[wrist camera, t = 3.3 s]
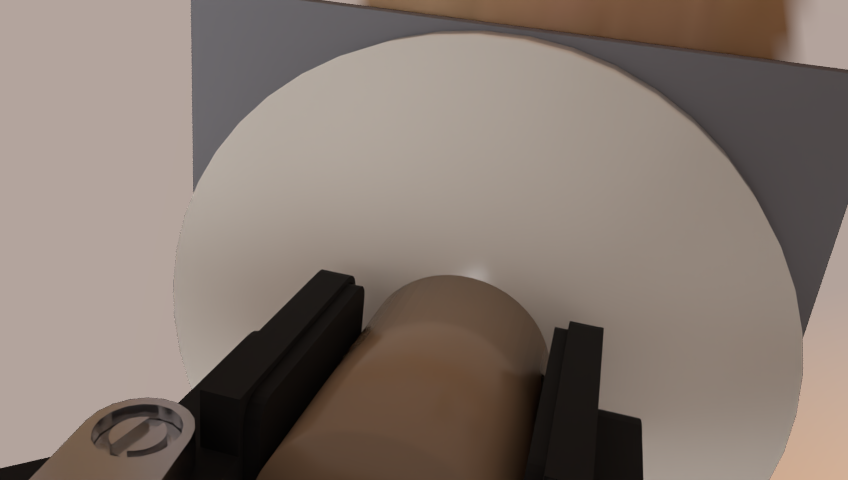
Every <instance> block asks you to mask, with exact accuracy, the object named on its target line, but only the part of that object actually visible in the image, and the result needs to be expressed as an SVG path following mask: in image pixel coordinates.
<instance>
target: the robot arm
mask: <svg viewBox="0 0 848 480" xmlns="http://www.w3.org/2000/svg"><path fill="white" fill-rule="evenodd" d="M364 296H365V291H364V287H363V286H359V285H356V283H355V278H354V276H352V275H347V274H342V273H337V272H332V271H328V270H323V269H321V270H320V271H319V272H318V273H317V274H316V275H315V276H314V277H313V278H312V279H311V280H309V281H308V282H307V283H306V284H305V285H304V286H303V287H302V288H301V289H300V290H299V291H298V292H297V293H296V294H295V295H294V296H293V297H292V298H291V299H290V300H289V301H288V302H287V303H286V304H285V305H284V306H283V307H282V308H281V309H280V310H279V311H278V312H277V313H276V314H275V315H274V316H273V317H272V318H271V319H270V320H269V321H268V322H267V323H266V324H265V325H264V326H263V327H262V328H261V329H260V330H259V331H253V332H251V333H250V334H248V335H247V336H246V337H245V338H244V339H243V340H242V341H241V342H240V343H239V344H238V345H237V346H236V347H235V348H234V349H233V350H232V351H231V352H230V353H229V354H228V355H227V356H226V357H225V358H224V359H223V360H222V361H221V362H220V363H219V364H218V365H217V366H216V367H215V368H214V369H213V370H212V371H211V372H210V373H208V374H207V375H206V376H205V377H204V378H203V379H202V380H201V381H200V382H199V383H198V384H197V385H196V386H195V387H194V388H193V389H192V390H191V391H190V392H189V393H188V394H187V395H186V396H185V397H184V398H183V399H182V400H181V401H180V402H179V403H176V402H173V401H169V400H166V399H158V398H138V399H129V400H125V401H122V402H118V403H114V404H112V405H110V406H107V407H105V408H103V409H101V410H99V411H97V412H96V413H95V414H93V415H92V416H91V417H90V418H88V419H87V420H86V421H85V422H84V423H83V424H82V425H81V426H80V427H79V428H78V429H77V430H76V431H75V432H74V433H73V434H72V435H71V436H70V437H69V439H68V440H67V441H66V442H65V443H64V444H63V445H62V446H61V447H60V448H59V449H58V450H57V451H56V452H55V453H54V454H53V455H52V456H51V457H48V458H44V459H40V460H35V461H31V462H27V463H22V464H18V465H13V466H9V467H5V468H0V480H256V479H257V477H258V475H259V473H260V471H261V470H262V468H263V467H264V466H265V464H266V463H267V462H268V460H269V459H270V457H271V456H272V455H273V453H274V452H275V450H276V449H277V448H278V446H279V445H280V444H281V442H282V441H283V439H284V438H285V437H286V435H287V434H288V433H289V431H290V430H291V428H292V427H293V426H294V424H295V423H296V422H297V420H298V419H299V417H300V416H301V415H302V413H303V412H304V411H305V409H306V408H307V406H308V405H309V404H310V402H311V401H312V400H313V398H314V397H315V395H316V394H317V393H318V391H319V390H320V389H321V387H322V386H323V384H324V383H325V382H326V380H327V379H328V378H329V376H330V375H331V373H332V372H333V371H334V369H335V368H336V367H337V365H338V364H339V362H340V361H341V360H342V358H343V357H344V356H345V354H346V353H347V351H348V350H349V349H350V347H351V346H352V345H353V343H354V342H355V340H356V339H357V338H358V336H359V335H360V334H361V332H362V321H363V309H364ZM603 334H604V328H602V327H597V326H592V325H587V324H582V323H578V322H573V321H570V322H569V327H568V329H563V328H558V327H555V329H554V334H553V338H552V343H551V348H550V353H549V358H548V363H547V368H546V373H545V378H544V382H543V387H542V392H541V397H540V402H539V407H538V412H537V417H536V421H535V426H534V431H533V436H532V441H531V446H530V451H529V456H528V461H527V466H526V471H525V476H524V480H643V448H642V422H641V419H640V418H636V417H632V416H628V415H623V414H619V413H615V412H610V411H606V410H602V409H598V406H599V391H600V377H601V362H602V348H603Z"/></svg>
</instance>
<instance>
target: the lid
mask: <svg viewBox="0 0 848 480" xmlns="http://www.w3.org/2000/svg"><path fill="white" fill-rule="evenodd" d="M321 269H323V270H328V271H332V272H337V273H342V274H347V275H352V276H354V278H355V283H356V285H359V286H363V287H364V291H365V296H364V309H363V321H362V332H361V334H360V335H359V336H358V338H357V339H356V340H355V342H354V343H353V345H352V346H351V347H350V349H349V350H348V351H347V353H346V354H345V356H344V357H343V358H342V360H341V361H340V362H339V364H338V365H337V367H336V368H335V369H334V371H333V372H332V373H331V375H330V376H329V378H328V379H327V380H326V382H325V383H324V384H323V386H322V387H321V389H320V390H319V391H318V393H317V394H316V395H315V397H314V398H313V400H312V401H311V402H310V404H309V405H308V406H307V408H306V409H305V411H304V412H303V413H302V415H301V416H300V417H299V419H298V420H297V422H296V423H295V424H294V426H293V427H292V428H291V430H290V431H289V433H288V434H287V435H286V437H285V438H284V439H283V441H282V442H281V444H280V445H279V446H278V448H277V449H276V450H275V452H274V453H273V455H272V456H271V457H270V459H269V460H268V462H267V463H266V464H265V466H264V467H263V468H262V470H261V471H260V473H259V475H258V477H257V479H256V480H524V476H525V471H526V466H527V461H528V456H529V451H530V446H531V441H532V436H533V431H534V426H535V421H536V417H537V412H538V407H539V402H540V397H541V392H542V387H543V382H544V378H545V373H546V368H547V363H548V358H549V353H550V348H551V343H552V338H553V334H554V329H555V327H558V328H563V329H568V327H569V322H570V321H573V322H578V323H582V324H587V325H592V326H597V327H602V328H604V334H603V348H602V362H601V377H600V391H599V406H598V409H602V410H606V411H610V412H615V413H619V414H623V415H628V416H632V417H636V418H640V419H641V422H642V448H643V480H769V479H770V478H771V476H772V474H773V472H774V470H775V468H776V466H777V464H778V462H779V460H780V458H781V457H782V455H783V453H784V450H785V447H786V444H787V441H788V438H789V435H790V432H791V429H792V426H793V423H794V420H795V417H796V413H797V407H798V401H799V394H800V388H801V382H802V376H803V342H802V341H803V340H802V339H803V333H802V327H801V321H800V315H799V309H798V303H797V296H796V290H795V287H794V284H793V281H792V278H791V275H790V272H789V269H788V266H787V263H786V260H785V257H784V254H783V251H782V248H781V246H780V244H779V242H778V240H777V238H776V236H775V234H774V232H773V230H772V228H771V226H770V224H769V222H768V220H767V218H766V216H765V215H764V213H763V211H762V209H761V207H760V205H759V203H758V201H757V199H756V197H755V196H754V194H753V192H752V190H751V188H750V186H749V185H748V184H747V182H746V181H745V179H744V178H743V177H742V175H741V174H740V172H739V171H738V170H737V168H736V167H735V165H734V164H733V163H732V161H731V160H730V158H729V157H728V156H727V154H726V153H725V151H724V150H723V149H722V148H721V147H720V146H719V145H718V144H717V143H716V142H715V141H714V140H713V139H712V138H711V136H710V135H709V134H708V133H707V132H706V131H705V130H704V129H703V128H702V127H701V126H700V125H699V124H698V123H697V122H696V121H695V120H694V119H693V118H692V117H691V116H690V115H689V114H687V113H686V112H685V111H684V110H682V109H681V108H680V107H678V106H677V105H676V104H675V103H673V102H672V101H671V100H670V99H668V98H667V97H666V96H665V95H663V94H662V93H661V92H659V91H658V90H657V89H655V88H654V87H652V86H650V85H649V84H647V83H645V82H644V81H642V80H640V79H638V78H637V77H635V76H633V75H632V74H630V73H628V72H626V71H625V70H623V69H621V68H620V67H618V66H616V65H614V64H612V63H609V62H607V61H604V60H602V59H600V58H597V57H595V56H592V55H590V54H587V53H585V52H583V51H580V50H578V49H575V48H573V47H569V46H565V45H562V44H558V43H554V42H550V41H546V40H543V39H539V38H535V37H531V36H526V35H517V34H509V33H501V32H493V31H485V30H483V31H439V32H432V33H426V34H419V35H413V36H406V37H400V38H396V39H393V40H390V41H387V42H383V43H380V44H377V45H373V46H370V47H367V48H364V49H360V50H357V51H354V52H351V53H348V54H345V55H341V56H339V57H336V58H334V59H332V60H330V61H328V62H326V63H324V64H322V65H319V66H317V67H315V68H313V69H311V70H309V71H307V72H305V73H303V74H301V75H299V76H298V77H296V78H295V79H293V80H292V81H290V82H289V83H287V84H286V85H284V86H283V87H281V88H280V89H278V90H277V91H275V92H274V93H272V94H271V95H269V96H268V97H267V98H266V99H265V100H264V101H262V102H261V103H260V104H259V105H258V106H257V107H256V108H255V109H254V110H253V111H251V112H250V113H249V114H248V115H247V116H246V117H245V118H244V119H243V120H242V121H241V122H239V124H238V125H237V126H236V127H235V129H234V130H233V131H232V132H231V134H230V135H229V136H228V137H227V139H226V140H225V141H224V142H223V144H222V145H221V146H220V147H219V148H218V150H217V151H216V152H215V154H214V156H213V158H212V159H211V161H210V163H209V164H208V166H207V168H206V170H205V171H204V173H203V175H202V176H201V178H200V180H199V182H198V184H197V186H196V189H195V191H194V194H193V196H192V199H191V201H190V204H189V206H188V209H187V211H186V214H185V217H184V221H183V225H182V229H181V233H180V237H179V241H178V245H177V251H176V260H175V270H174V280H173V292H174V318H175V324H176V330H177V336H178V343H179V348H180V353H181V356H182V360H183V363H184V367H185V370H186V374H187V377H188V380H189V384H190V386H191V389H193V388H194V387H195V386H196V385H197V384H198V383H199V382H200V381H201V380H202V379H203V378H204V377H205V376H206V375H207V374H208V373H210V372H211V371H212V370H213V369H214V368H215V367H216V366H217V365H218V364H219V363H220V362H221V361H222V360H223V359H224V358H225V357H226V356H227V355H228V354H229V353H230V352H231V351H232V350H233V349H234V348H235V347H236V346H237V345H238V344H239V343H240V342H241V341H242V340H243V339H244V338H245V337H246V336H247V335H248V334H250V333H251V332H253V331H259V330H260V329H261V328H262V327H263V326H264V325H265V324H266V323H267V322H268V321H269V320H270V319H271V318H272V317H273V316H274V315H275V314H276V313H277V312H278V311H279V310H280V309H281V308H282V307H283V306H284V305H285V304H286V303H287V302H288V301H289V300H290V299H291V298H292V297H293V296H294V295H295V294H296V293H297V292H298V291H299V290H300V289H301V288H302V287H303V286H304V285H305V284H306V283H307V282H308V281H309V280H311V279H312V278H313V277H314V276H315V275H316V274H317V273H318V272H319V271H320V270H321Z"/></svg>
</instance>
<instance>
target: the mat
mask: <svg viewBox="0 0 848 480" xmlns="http://www.w3.org/2000/svg"><path fill="white" fill-rule="evenodd" d="M483 30H485V31H493V32H501V33H509V34H517V35H526V36H531V37H535V38H539V39H543V40H546V41H550V42H554V43H558V44H562V45H565V46H569V47H573V48H575V49H578V50H580V51H583V52H585V53H587V54H590V55H592V56H595V57H597V58H600V59H602V60H604V61H607V62H609V63H612V64H614V65H616V66H618V67H620V68H621V69H623V70H625V71H626V72H628V73H630V74H632V75H633V76H635V77H637V78H638V79H640V80H642V81H644V82H645V83H647V84H649V85H650V86H652V87H654V88H655V89H657V90H658V91H659V92H661V93H662V94H663V95H665V96H666V97H667V98H668V99H670V100H671V101H672V102H673V103H675V104H676V105H677V106H678V107H680V108H681V109H682V110H684V111H685V112H686V113H687V114H689V115H690V116H691V117H692V118H693V119H694V120H695V121H696V122H697V123H698V124H699V125H700V126H701V127H702V128H703V129H704V130H705V131H706V132H707V133H708V134H709V135H710V136H711V138H712V139H713V140H714V141H715V142H716V143H717V144H718V145H719V146H720V147H721V148H722V149H723V150H724V151H725V153H726V154H727V156H728V157H729V158H730V160H731V161H732V163H733V164H734V165H735V167H736V168H737V170H738V171H739V172H740V174H741V175H742V177H743V178H744V179H745V181H746V182H747V184H748V185H749V186H750V188H751V190H752V192H753V194H754V196H755V197H756V199H757V201H758V203H759V205H760V207H761V209H762V211H763V213H764V215H765V216H766V218H767V220H768V222H769V224H770V226H771V228H772V230H773V232H774V234H775V236H776V238H777V240H778V242H779V244H780V246H781V248H782V251H783V254H784V257H785V260H786V263H787V266H788V269H789V272H790V275H791V278H792V281H793V284H794V287H795V290H796V296H797V303H798V309H799V315H800V321H801V327H802V333H803V336H804V333H805V330H806V327H807V324H808V321H809V318H810V315H811V312H812V309H813V306H814V303H815V300H816V297H817V294H818V291H819V288H820V285H821V282H822V279H823V276H824V273H825V270H826V267H827V264H828V261H829V258H830V255H831V253H832V250H833V247H834V244H835V240H836V238H837V235H838V232H839V229H840V226H841V223H842V220H843V217H844V214H845V211H846V208H847V205H848V70H845V69H837V68H830V67H822V66H815V65H807V64H800V63H792V62H785V61H777V60H769V59H762V58H754V57H747V56H739V55H732V54H724V53H716V52H709V51H701V50H694V49H686V48H679V47H671V46H664V45H656V44H648V43H641V42H633V41H626V40H618V39H611V38H603V37H595V36H588V35H580V34H573V33H565V32H558V31H550V30H543V29H535V28H527V27H520V26H512V25H505V24H497V23H490V22H482V21H475V20H467V19H459V18H452V17H444V16H437V15H429V14H422V13H414V12H406V11H399V10H391V9H384V8H376V7H369V6H361V5H354V4H346V3H338V2H331V1H323V0H191V37H192V116H193V117H192V118H193V192H194V191H195V189H196V186H197V184H198V182H199V180H200V178H201V176H202V175H203V173H204V171H205V170H206V168H207V166H208V164H209V163H210V161H211V159H212V158H213V156H214V154H215V152H216V151H217V150H218V148H219V147H220V146H221V145H222V144H223V142H224V141H225V140H226V139H227V137H228V136H229V135H230V134H231V132H232V131H233V130H234V129H235V127H236V126H237V125H238V124H239V122H241V121H242V120H243V119H244V118H245V117H246V116H247V115H248V114H249V113H250V112H251V111H253V110H254V109H255V108H256V107H257V106H258V105H259V104H260V103H261V102H262V101H264V100H265V99H266V98H267V97H268V96H269V95H271V94H272V93H274V92H275V91H277V90H278V89H280V88H281V87H283V86H284V85H286V84H287V83H289V82H290V81H292V80H293V79H295V78H296V77H298V76H299V75H301V74H303V73H305V72H307V71H309V70H311V69H313V68H315V67H317V66H319V65H322V64H324V63H326V62H328V61H330V60H332V59H334V58H336V57H339V56H341V55H345V54H348V53H351V52H354V51H357V50H360V49H364V48H367V47H370V46H373V45H377V44H380V43H383V42H387V41H390V40H393V39H396V38H400V37H406V36H413V35H419V34H426V33H432V32H439V31H483ZM193 194H194V193H193Z"/></svg>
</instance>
